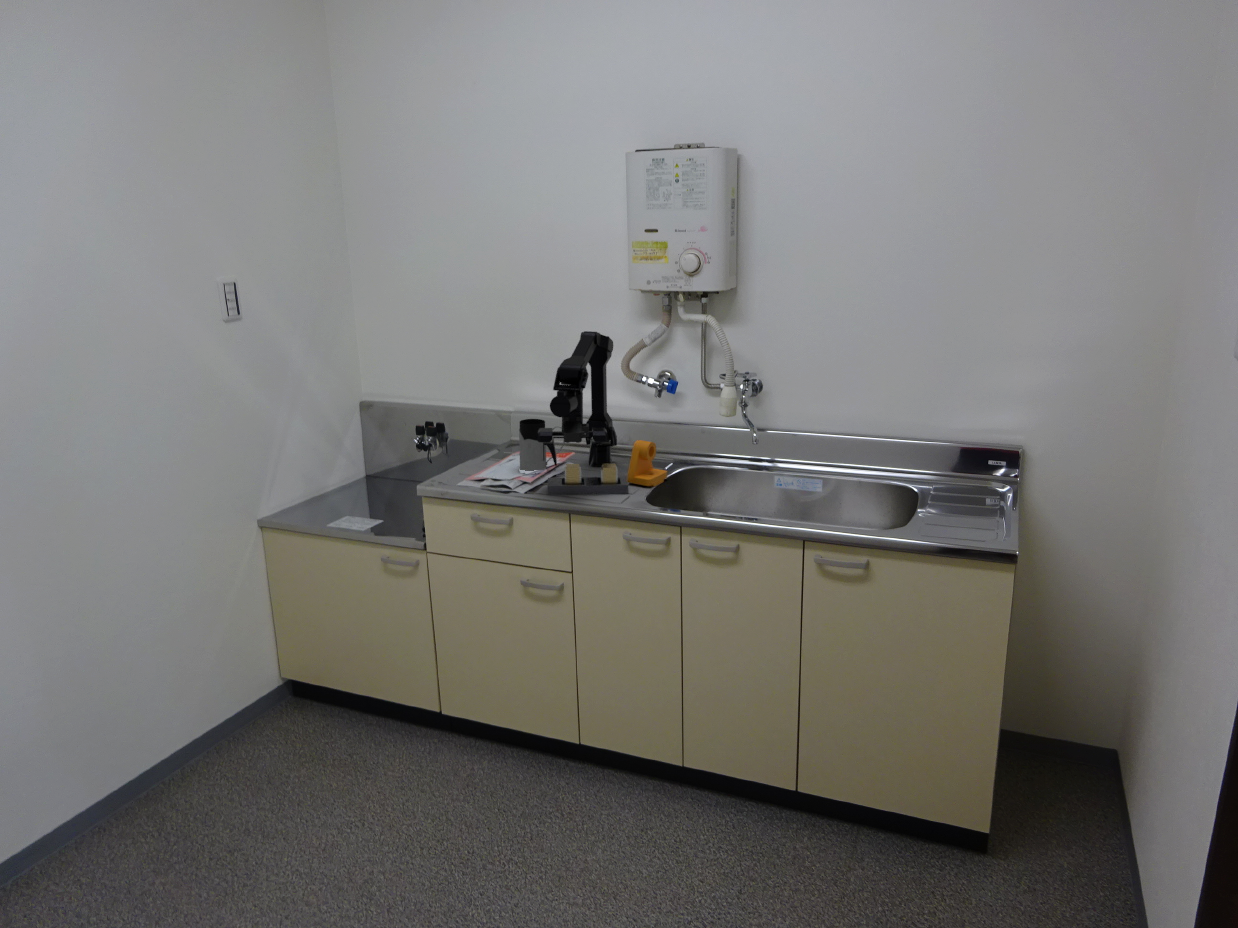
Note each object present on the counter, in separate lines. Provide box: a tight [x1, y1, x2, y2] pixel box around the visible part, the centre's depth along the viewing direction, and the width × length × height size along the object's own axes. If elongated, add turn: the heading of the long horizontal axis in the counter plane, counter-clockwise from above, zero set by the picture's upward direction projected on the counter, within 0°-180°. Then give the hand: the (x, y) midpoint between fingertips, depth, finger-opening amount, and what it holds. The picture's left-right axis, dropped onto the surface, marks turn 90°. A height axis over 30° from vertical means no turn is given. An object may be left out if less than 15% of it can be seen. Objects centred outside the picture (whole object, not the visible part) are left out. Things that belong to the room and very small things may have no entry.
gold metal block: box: [564, 463, 582, 485], centre depth 241 cm, size 4×4×7 cm
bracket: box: [626, 439, 668, 487], centre depth 249 cm, size 11×7×12 cm
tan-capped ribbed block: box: [600, 463, 619, 485], centre depth 242 cm, size 4×4×7 cm
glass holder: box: [518, 418, 566, 471], centre depth 259 cm, size 9×14×15 cm, turn 87°
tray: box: [546, 476, 629, 496], centre depth 242 cm, size 8×22×2 cm, turn 93°
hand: (572, 465), depth 240 cm, fingers open, 9 cm apart
